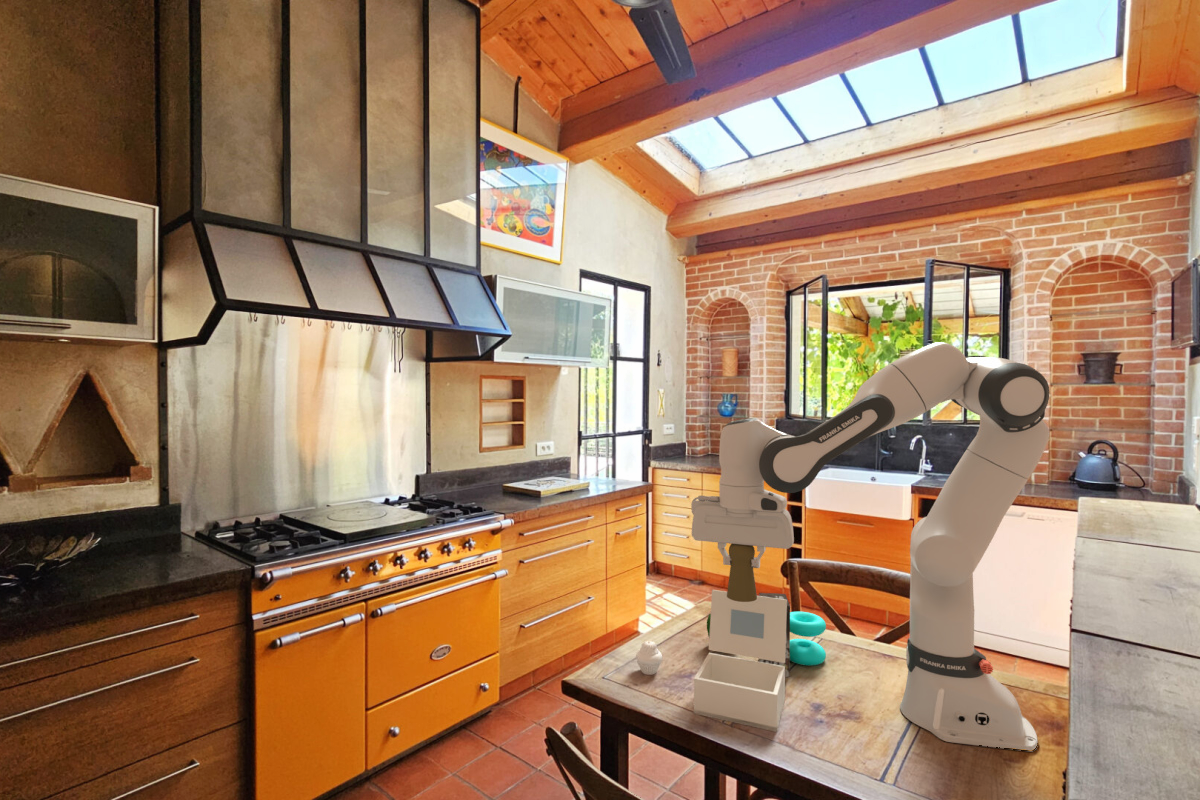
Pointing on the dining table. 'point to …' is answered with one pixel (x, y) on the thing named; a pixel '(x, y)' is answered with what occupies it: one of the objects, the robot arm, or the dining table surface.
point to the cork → (741, 574)
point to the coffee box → (787, 652)
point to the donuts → (803, 648)
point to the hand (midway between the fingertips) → (741, 565)
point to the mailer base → (740, 691)
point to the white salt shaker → (649, 658)
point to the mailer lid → (748, 627)
